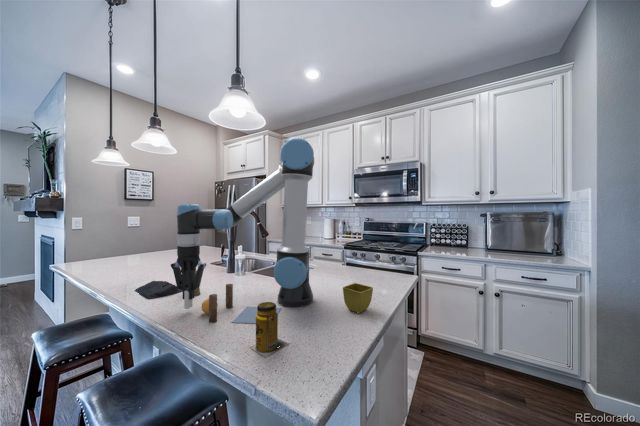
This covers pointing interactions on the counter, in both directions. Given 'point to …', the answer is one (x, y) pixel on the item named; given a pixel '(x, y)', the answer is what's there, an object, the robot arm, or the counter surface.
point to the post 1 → (212, 308)
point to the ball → (206, 306)
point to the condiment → (267, 330)
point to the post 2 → (229, 295)
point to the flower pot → (357, 296)
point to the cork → (197, 291)
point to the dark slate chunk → (157, 289)
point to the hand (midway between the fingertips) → (188, 307)
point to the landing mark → (249, 315)
